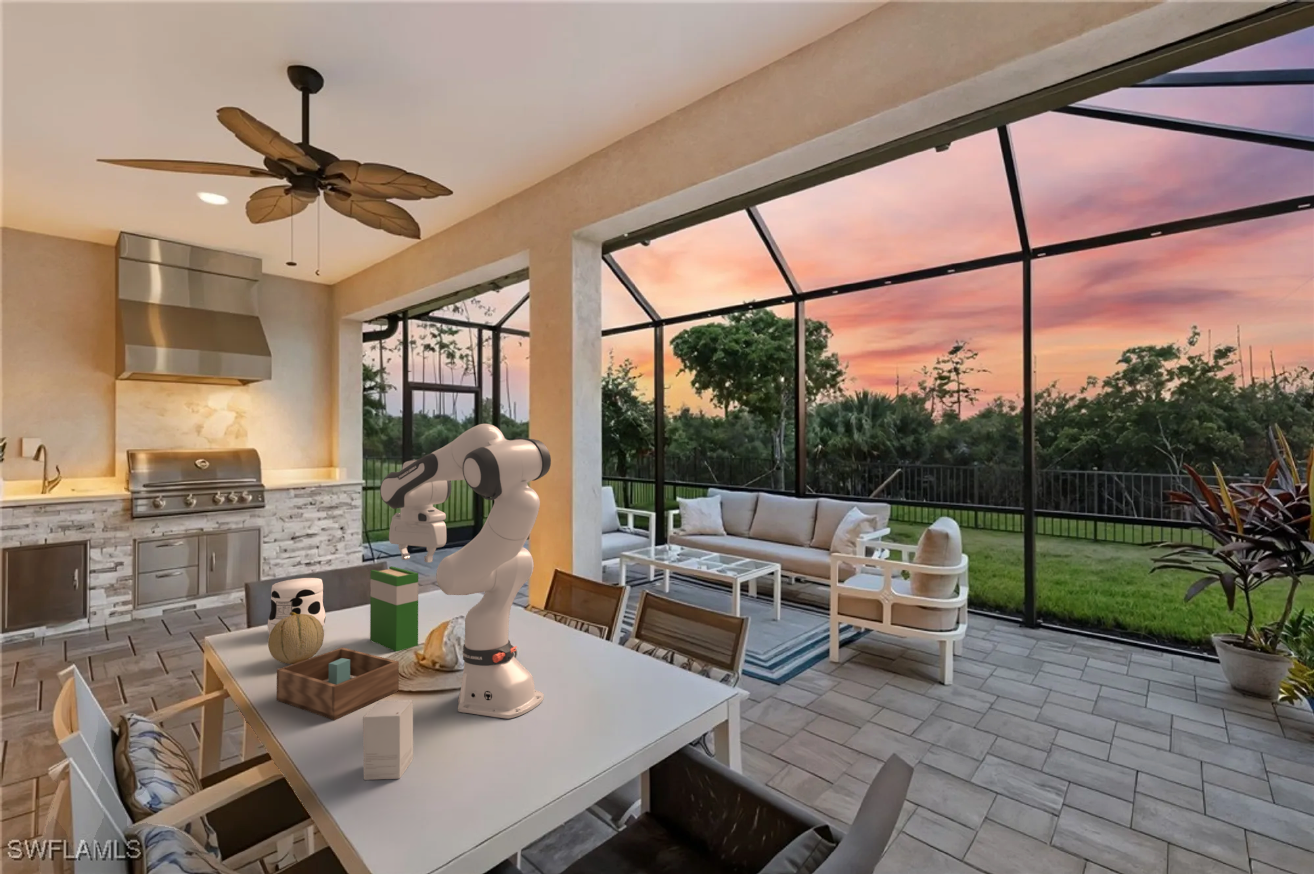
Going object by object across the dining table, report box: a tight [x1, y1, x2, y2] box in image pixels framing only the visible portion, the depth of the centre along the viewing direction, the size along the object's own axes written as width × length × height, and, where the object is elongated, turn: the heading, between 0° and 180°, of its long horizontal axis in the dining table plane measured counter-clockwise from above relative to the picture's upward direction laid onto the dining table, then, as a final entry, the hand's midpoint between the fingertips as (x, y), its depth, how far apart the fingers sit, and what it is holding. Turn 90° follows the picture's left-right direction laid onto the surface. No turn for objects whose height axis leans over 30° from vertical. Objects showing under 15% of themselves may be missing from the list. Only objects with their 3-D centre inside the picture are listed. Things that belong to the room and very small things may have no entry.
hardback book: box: [369, 566, 419, 653], centre depth 190 cm, size 18×7×24 cm, turn 52°
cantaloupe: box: [267, 612, 325, 665], centre depth 173 cm, size 15×15×15 cm
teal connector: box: [329, 658, 350, 685], centre depth 150 cm, size 3×4×8 cm
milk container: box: [267, 577, 327, 634], centre depth 199 cm, size 17×17×18 cm
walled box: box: [276, 647, 400, 721], centre depth 149 cm, size 24×18×8 cm
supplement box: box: [362, 699, 414, 781], centre depth 115 cm, size 7×7×13 cm
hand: (417, 560), depth 166 cm, fingers open, 8 cm apart
